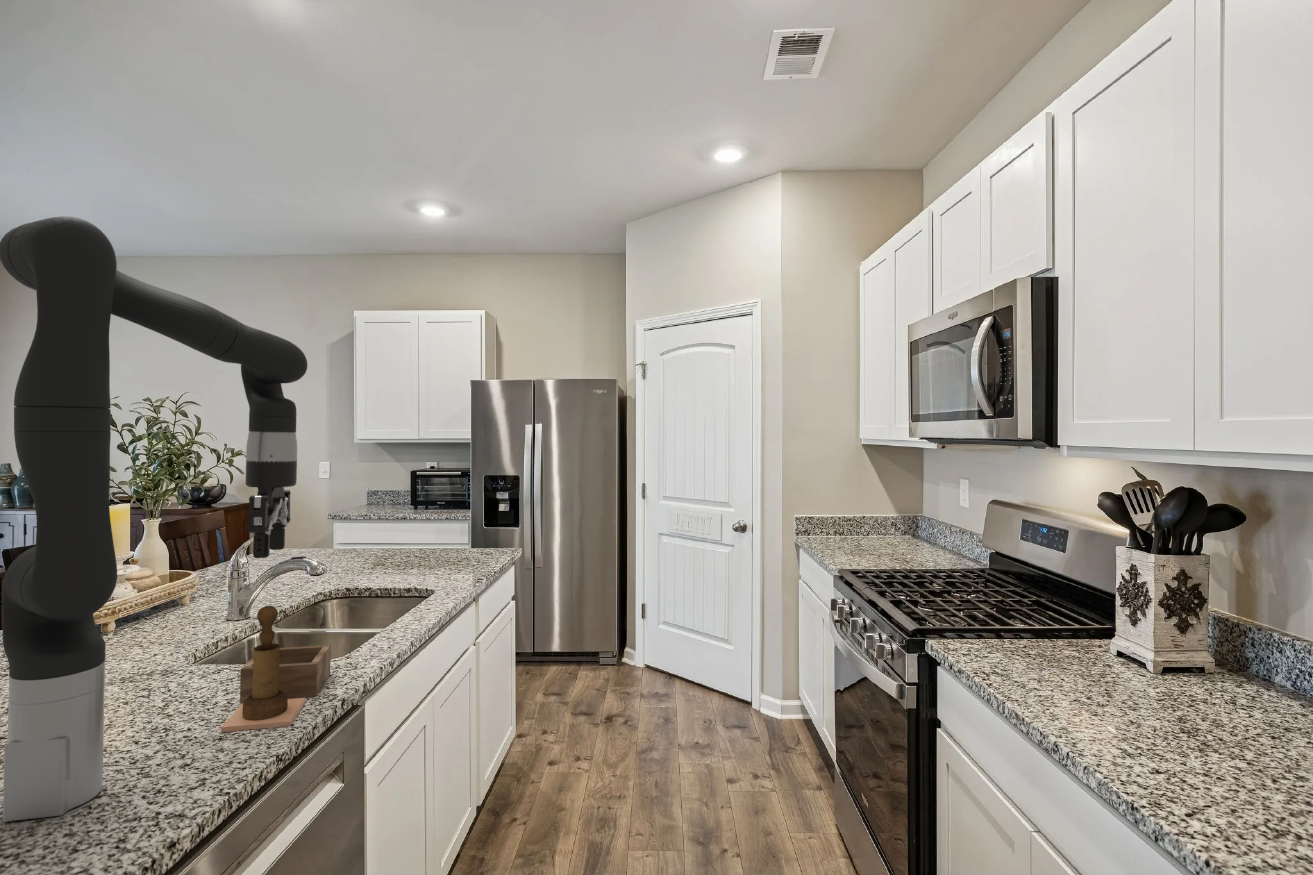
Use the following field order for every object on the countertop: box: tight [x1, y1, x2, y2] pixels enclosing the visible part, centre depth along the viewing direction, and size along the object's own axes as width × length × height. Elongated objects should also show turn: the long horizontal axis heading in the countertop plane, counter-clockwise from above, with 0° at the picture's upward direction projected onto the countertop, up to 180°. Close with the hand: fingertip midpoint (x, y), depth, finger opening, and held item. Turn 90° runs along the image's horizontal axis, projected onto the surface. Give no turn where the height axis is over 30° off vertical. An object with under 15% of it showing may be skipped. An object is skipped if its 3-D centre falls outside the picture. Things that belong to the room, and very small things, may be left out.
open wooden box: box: [239, 644, 332, 704], centre depth 123 cm, size 11×12×6 cm
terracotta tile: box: [220, 697, 307, 733], centre depth 110 cm, size 10×10×1 cm
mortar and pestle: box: [242, 605, 288, 720], centre depth 110 cm, size 7×6×18 cm
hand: (269, 553), depth 110 cm, fingers open, 8 cm apart
